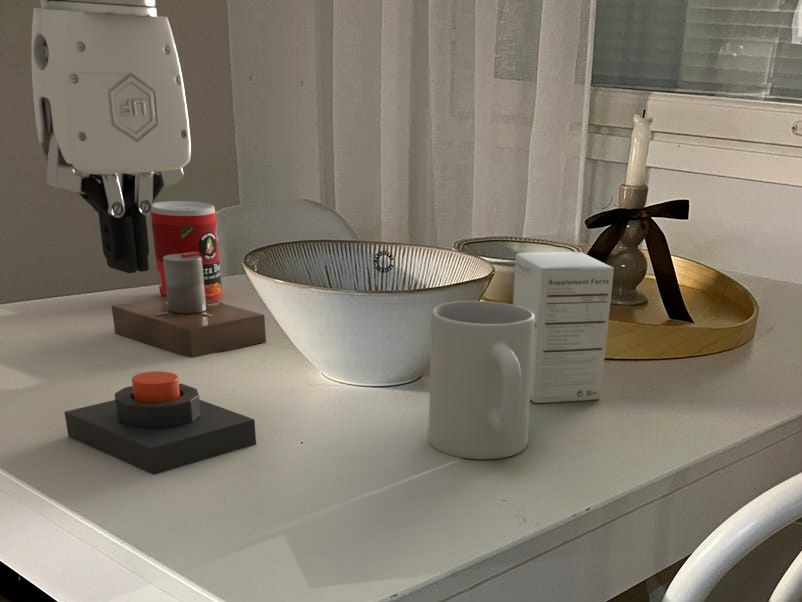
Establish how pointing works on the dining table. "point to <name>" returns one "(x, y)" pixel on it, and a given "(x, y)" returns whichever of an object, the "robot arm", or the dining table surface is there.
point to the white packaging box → (565, 322)
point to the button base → (160, 430)
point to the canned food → (187, 239)
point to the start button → (155, 386)
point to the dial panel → (189, 326)
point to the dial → (185, 283)
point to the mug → (480, 378)
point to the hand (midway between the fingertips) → (128, 268)
